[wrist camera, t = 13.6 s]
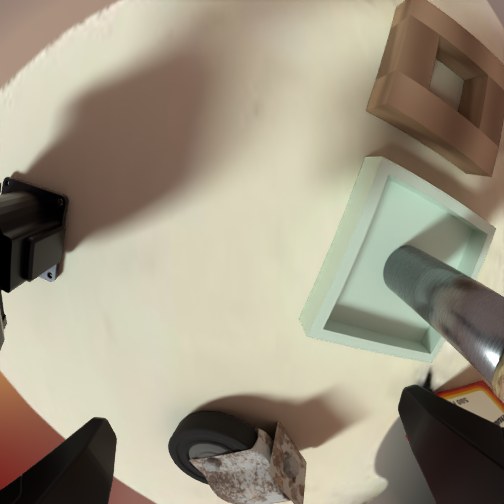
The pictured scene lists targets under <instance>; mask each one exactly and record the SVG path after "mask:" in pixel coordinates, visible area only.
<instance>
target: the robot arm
mask: <svg viewBox="0 0 504 504" xmlns="http://www.w3.org/2000/svg"><path fill="white" fill-rule="evenodd" d="M8 181H9V185H8ZM0 193H1V183H0ZM60 199H62V201H63V204H62V205H61V204H60ZM67 208H68V198H67V196H65V195H63V194H60V193H58V192H55V191H52V190H49V189H46V188H43V187H40V186H37V185H34V184H31V183H28V182H25V181H22V180H19V179H16V178H13V177H6V178H5V179H4V181H3V186H2V193H1V195H0V350H1V347H2V345H3V342H4V329H5V326H6V324H7V320H6V315H5V314H4V310H3V302H2V294H1V290H3V291H5V292H7V293H9V292H11V291H12V290H14V289H15V288H16V287H18V286H19V285H21V284H22V283H24V282H25V281H28V282H31V281H32V280H34V279H35V278H37V277H38V276H39V277H41V278H43V279H45V280H47V281H50V282H52V281H54V280H55V279H56V278H57V276H58V267H59V262H60V261H61V256H62V249H63V242H64V235H65V227H64V224H65V218H66V213H67ZM50 273H52V276H51V275H50ZM398 411H399V415H400V417H401V420H402V423H403V426H404V429H405V432H406V435H407V438H408V441H409V444H410V446H411V449H412V452H413V454H414V456H415V458H416V460H417V462H418V464H419V467H420V469H421V471H422V473H423V475H424V477H425V479H426V482H427V484H428V486H429V488H430V491H431V493H432V495H433V497H434V500H435V502H436V504H504V427H501V426H500V425H498V424H495V423H493V422H491V421H489V420H487V419H485V418H483V417H481V416H479V415H476V414H474V413H472V412H470V411H468V410H466V409H464V408H462V407H460V406H458V405H456V404H454V403H452V402H450V401H448V400H446V399H444V398H442V397H440V396H438V395H436V394H434V393H432V392H430V391H428V390H426V389H424V388H422V387H420V386H418V385H411V386H408V387H405V388H404V389H403V391H402V394H401V398H400V402H399V405H398ZM116 443H117V438H116V435H115V433H114V431H113V429H112V427H111V425H110V424H109V422H108V420H107V419H106V418H100V417H94V418H92V419H91V420H90V421H88V422H87V423H86V424H85V425H83V426H82V427H81V428H80V429H78V430H77V431H76V432H75V433H74V434H72V435H71V436H70V437H69V438H67V439H66V440H65V441H64V442H62V443H61V444H60V445H59V446H57V447H56V448H55V449H54V450H52V451H51V452H50V453H49V454H47V455H46V456H45V457H44V458H42V459H41V460H40V461H39V462H37V463H36V464H35V465H33V466H32V467H31V468H30V469H28V470H27V471H26V472H24V473H23V474H22V476H19V477H18V478H17V479H15V480H14V481H13V482H11V483H10V484H8V485H7V486H6V487H4V488H3V489H1V490H0V504H108V502H109V497H110V491H111V487H112V481H113V473H114V462H115V452H116Z"/></svg>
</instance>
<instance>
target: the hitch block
mask: <svg viewBox="0 0 504 504" xmlns="http://www.w3.org/2000/svg"><path fill="white" fill-rule="evenodd" d="M435 58H436V59H438V60H439V61H440V62H442V63H443V64H444V65H446V66H447V67H448V68H450V69H451V70H452V71H454V72H455V73H456V74H457V75H459V76H460V77H461V78H462V79H463V80H465V81H464V86H463V92H462V97H461V102H460V107H459V111H458V112H457V111H456V110H455V109H453V108H452V107H451V106H449V105H448V104H447V103H445V102H444V101H443V100H441V99H440V98H439V97H437V96H436V95H434V94H433V93H432V92H430V91H429V86H430V81H431V77H432V72H433V68H434V63H435ZM366 111H368V112H369V113H371V114H373V115H375V116H377V117H379V118H381V119H382V120H384V121H386V122H388V123H390V124H391V125H393V126H395V127H397V128H398V129H400V130H402V131H403V132H405V133H407V134H408V135H410V136H412V137H413V138H415V139H417V140H418V141H420V142H421V143H423V144H424V145H426V146H428V147H429V148H431V149H432V150H434V151H435V152H437V153H438V154H440V155H441V156H443V157H444V158H445V159H447V160H448V161H450V162H451V163H453V164H454V165H455V166H457V167H458V168H460V169H461V170H462V171H464V172H465V173H466V174H474V175H481V176H488V177H492V173H493V169H494V165H495V161H496V156H497V152H498V147H499V142H500V137H501V132H502V126H503V120H504V64H503V63H502V62H501V61H500V60H499V59H498V58H497V57H496V56H495V55H494V54H492V53H491V52H490V51H489V50H488V49H487V48H486V47H485V46H484V45H483V44H482V43H481V42H480V41H478V40H477V39H476V38H475V37H474V36H473V35H472V34H470V33H469V32H468V31H467V30H466V29H464V28H463V27H462V26H461V25H459V24H458V23H457V22H456V21H454V20H453V19H452V18H451V17H449V16H448V15H447V14H445V13H444V12H443V11H441V10H440V9H438V8H437V7H436V6H434V5H433V4H431V3H430V2H428V1H427V0H405V1H404V2H403V3H401V4H400V5H399V6H398V7H397V8H396V11H395V15H394V18H393V22H392V26H391V30H390V33H389V37H388V40H387V44H386V47H385V51H384V54H383V58H382V61H381V64H380V68H379V71H378V74H377V77H376V81H375V84H374V87H373V90H372V93H371V96H370V100H369V103H368V106H367V109H366Z"/></svg>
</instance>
